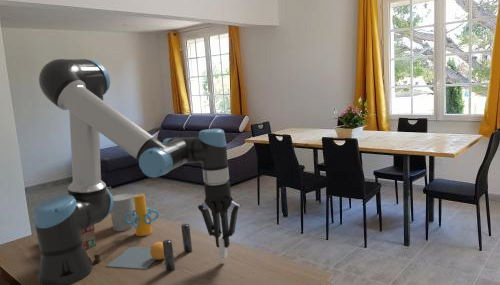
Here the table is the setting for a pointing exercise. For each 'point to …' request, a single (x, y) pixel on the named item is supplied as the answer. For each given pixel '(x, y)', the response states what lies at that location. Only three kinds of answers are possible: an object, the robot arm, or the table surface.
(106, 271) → the table surface
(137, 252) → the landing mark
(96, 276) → the table surface
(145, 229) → the cylinder
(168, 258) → the post
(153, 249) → the ball
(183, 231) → the post
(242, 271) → the table surface
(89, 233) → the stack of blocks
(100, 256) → the stopper wall
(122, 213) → the white tapered bucket
